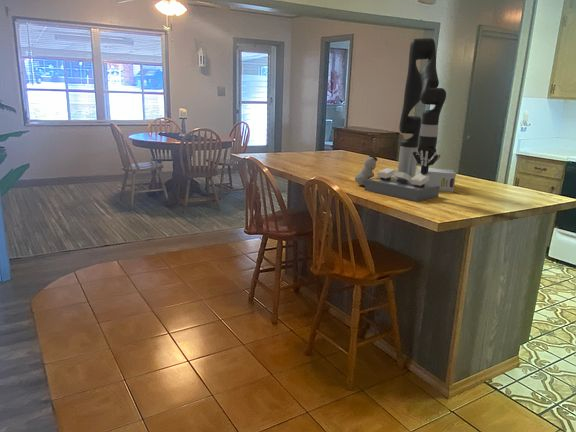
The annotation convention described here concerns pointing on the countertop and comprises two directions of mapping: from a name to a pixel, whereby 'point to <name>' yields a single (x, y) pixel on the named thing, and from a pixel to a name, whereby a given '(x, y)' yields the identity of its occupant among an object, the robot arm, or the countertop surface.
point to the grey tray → (402, 188)
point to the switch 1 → (386, 173)
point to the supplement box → (441, 178)
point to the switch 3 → (419, 179)
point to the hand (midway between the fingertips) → (424, 174)
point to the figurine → (366, 170)
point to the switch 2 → (402, 176)
